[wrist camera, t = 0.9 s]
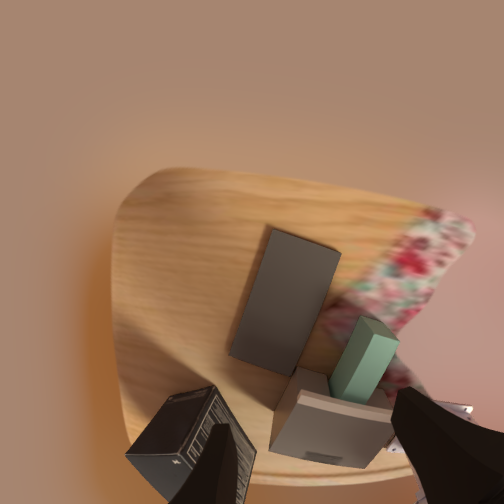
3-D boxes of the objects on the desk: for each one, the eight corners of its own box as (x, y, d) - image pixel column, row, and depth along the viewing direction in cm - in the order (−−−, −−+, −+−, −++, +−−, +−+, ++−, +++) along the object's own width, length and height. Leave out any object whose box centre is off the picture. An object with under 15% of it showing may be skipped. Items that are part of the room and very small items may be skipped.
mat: (340, 252, 23) (341, 253, 22) (290, 373, 24) (290, 376, 24) (273, 228, 24) (273, 228, 23) (229, 352, 25) (228, 355, 24)
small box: (165, 395, 27) (118, 453, 16) (216, 382, 26) (179, 451, 15) (210, 459, 27) (184, 521, 16) (259, 451, 26) (244, 521, 15)
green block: (382, 322, 23) (400, 341, 18) (337, 407, 24) (343, 437, 20) (360, 314, 23) (374, 333, 19) (316, 402, 25) (318, 432, 20)
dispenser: (386, 382, 23) (405, 417, 17) (355, 431, 24) (364, 469, 18) (300, 359, 24) (301, 394, 18) (273, 412, 25) (268, 451, 19)
